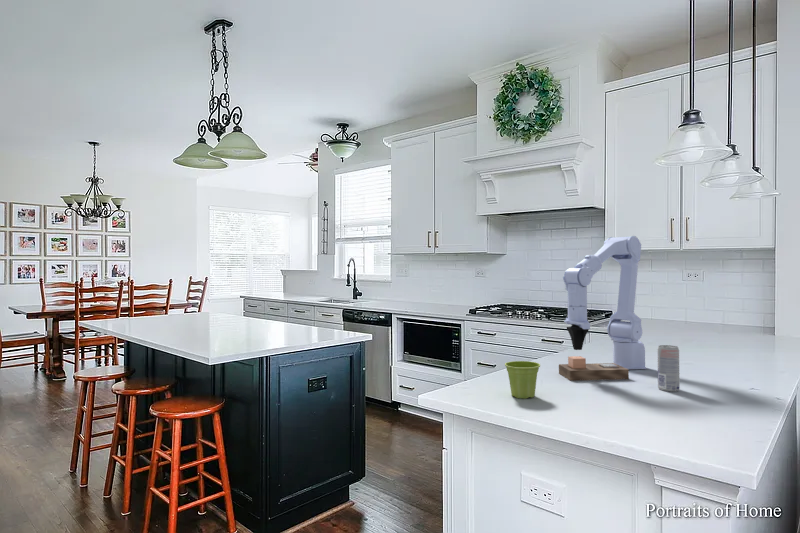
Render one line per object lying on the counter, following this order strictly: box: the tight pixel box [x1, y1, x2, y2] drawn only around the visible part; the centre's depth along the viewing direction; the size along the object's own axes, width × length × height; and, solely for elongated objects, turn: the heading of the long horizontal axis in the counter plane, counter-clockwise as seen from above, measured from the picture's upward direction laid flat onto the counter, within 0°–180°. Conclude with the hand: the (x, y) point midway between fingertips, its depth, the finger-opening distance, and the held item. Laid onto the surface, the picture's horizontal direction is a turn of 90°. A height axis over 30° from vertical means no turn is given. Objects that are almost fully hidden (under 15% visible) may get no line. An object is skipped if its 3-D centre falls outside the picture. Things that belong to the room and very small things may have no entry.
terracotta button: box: [567, 355, 587, 369], centre depth 162 cm, size 4×4×3 cm
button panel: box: [558, 362, 630, 382], centre depth 162 cm, size 18×10×3 cm, turn 92°
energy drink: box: [657, 344, 681, 393], centre depth 145 cm, size 5×5×12 cm
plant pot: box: [504, 360, 541, 399], centre depth 140 cm, size 9×9×9 cm
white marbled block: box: [599, 364, 618, 368], centre depth 162 cm, size 4×4×3 cm
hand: (577, 349), depth 162 cm, fingers closed
